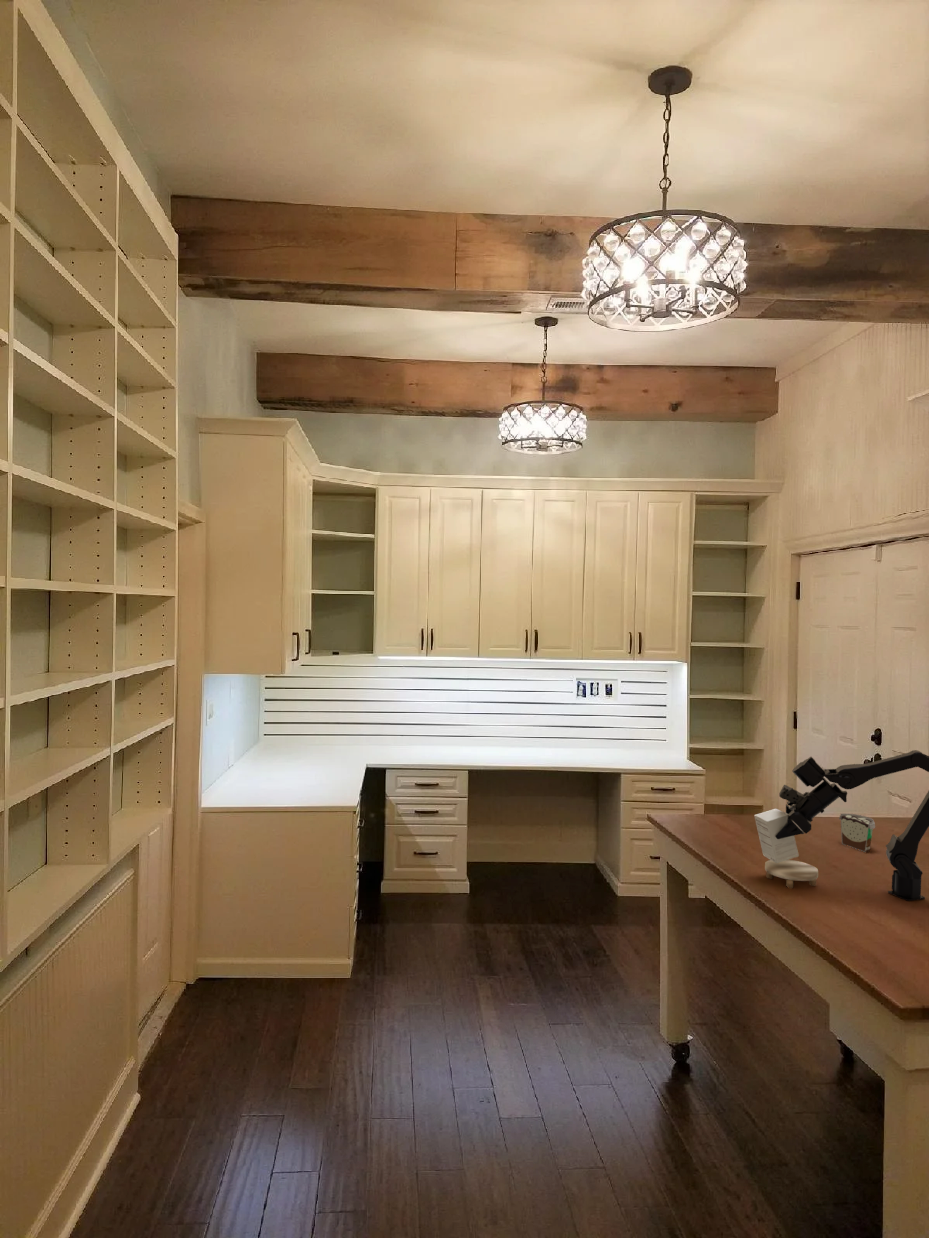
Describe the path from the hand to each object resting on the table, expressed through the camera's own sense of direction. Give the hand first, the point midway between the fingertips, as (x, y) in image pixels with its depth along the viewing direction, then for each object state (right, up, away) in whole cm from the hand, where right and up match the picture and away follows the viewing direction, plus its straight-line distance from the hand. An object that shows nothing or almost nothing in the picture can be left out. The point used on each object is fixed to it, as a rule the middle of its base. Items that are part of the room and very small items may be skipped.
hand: (776, 833), depth 226 cm
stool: (+3, -13, -2) cm, 14 cm away
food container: (+41, -14, +33) cm, 55 cm away
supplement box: (+1, -7, 0) cm, 7 cm away
